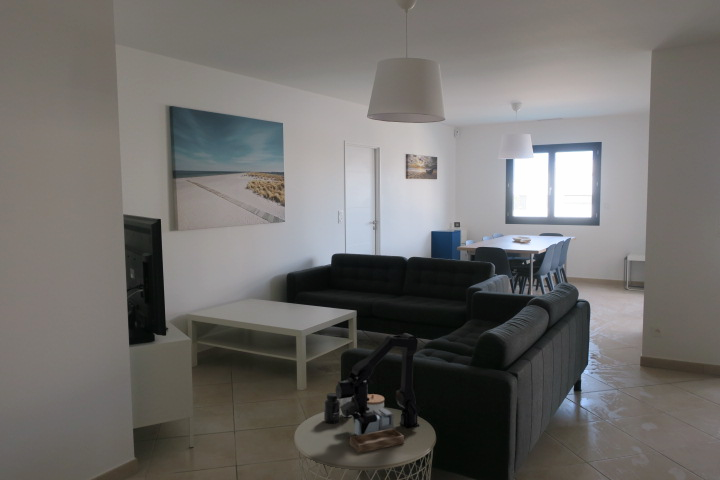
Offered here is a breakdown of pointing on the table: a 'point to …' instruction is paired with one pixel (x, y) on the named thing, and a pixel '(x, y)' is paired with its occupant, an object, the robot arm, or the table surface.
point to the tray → (376, 440)
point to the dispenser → (387, 413)
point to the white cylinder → (344, 401)
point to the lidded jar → (375, 403)
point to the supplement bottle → (332, 409)
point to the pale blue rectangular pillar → (371, 425)
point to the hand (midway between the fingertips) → (360, 431)
